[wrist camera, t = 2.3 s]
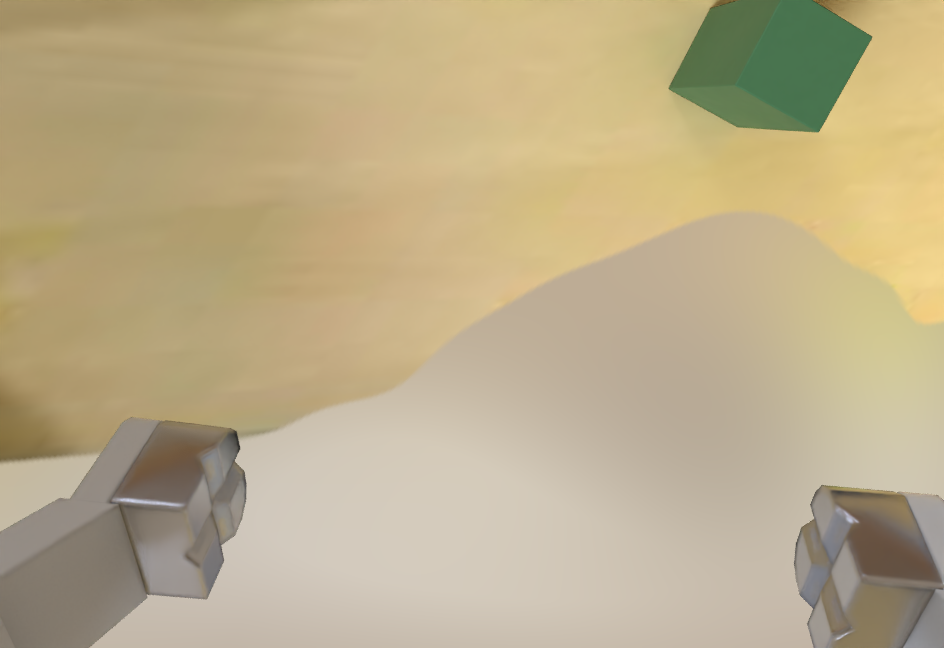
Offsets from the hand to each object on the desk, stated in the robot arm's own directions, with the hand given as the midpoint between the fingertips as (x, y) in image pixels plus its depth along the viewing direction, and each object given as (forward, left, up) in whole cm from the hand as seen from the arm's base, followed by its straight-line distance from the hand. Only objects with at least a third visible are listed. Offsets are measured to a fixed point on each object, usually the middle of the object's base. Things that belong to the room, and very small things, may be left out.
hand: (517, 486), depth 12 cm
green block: (+1, +19, -36) cm, 41 cm away
